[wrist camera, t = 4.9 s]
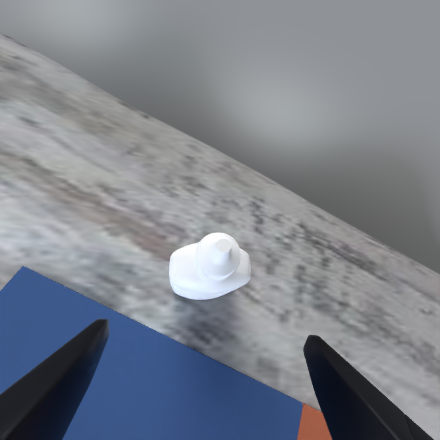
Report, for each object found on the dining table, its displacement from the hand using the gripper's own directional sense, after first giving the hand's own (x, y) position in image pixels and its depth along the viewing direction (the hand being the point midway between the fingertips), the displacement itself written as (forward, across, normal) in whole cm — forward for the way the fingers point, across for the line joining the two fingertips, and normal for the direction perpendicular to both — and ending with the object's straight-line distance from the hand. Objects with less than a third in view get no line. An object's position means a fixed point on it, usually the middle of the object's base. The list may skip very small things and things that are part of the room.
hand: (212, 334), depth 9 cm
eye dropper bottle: (+10, 0, +5) cm, 11 cm away
